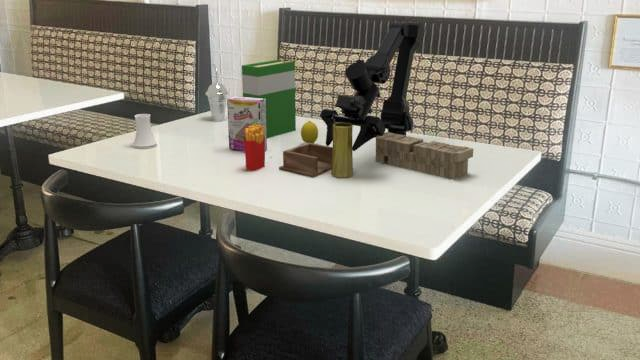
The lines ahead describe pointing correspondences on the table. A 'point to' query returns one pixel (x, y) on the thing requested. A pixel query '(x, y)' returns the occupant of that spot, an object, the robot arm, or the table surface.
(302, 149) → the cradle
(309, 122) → the lemon
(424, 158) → the block tower
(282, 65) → the hardback book
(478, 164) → the table surface
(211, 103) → the cup with straw
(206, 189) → the table surface
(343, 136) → the vase
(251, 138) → the french fries
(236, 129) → the candy bar box
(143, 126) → the vase
